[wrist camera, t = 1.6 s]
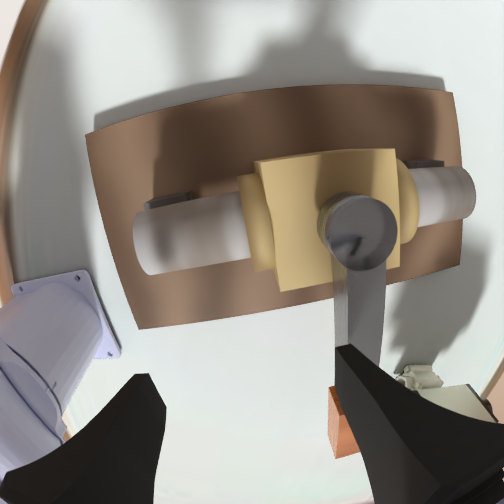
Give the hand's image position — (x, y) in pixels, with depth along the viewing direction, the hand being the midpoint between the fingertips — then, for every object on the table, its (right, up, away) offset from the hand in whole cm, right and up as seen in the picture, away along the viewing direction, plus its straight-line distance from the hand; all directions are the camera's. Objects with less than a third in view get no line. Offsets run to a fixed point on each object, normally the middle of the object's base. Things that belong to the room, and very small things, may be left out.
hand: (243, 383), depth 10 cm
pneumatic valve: (+17, -8, +15) cm, 24 cm away
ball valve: (+4, +8, +8) cm, 12 cm away
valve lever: (+5, 0, +3) cm, 6 cm away
